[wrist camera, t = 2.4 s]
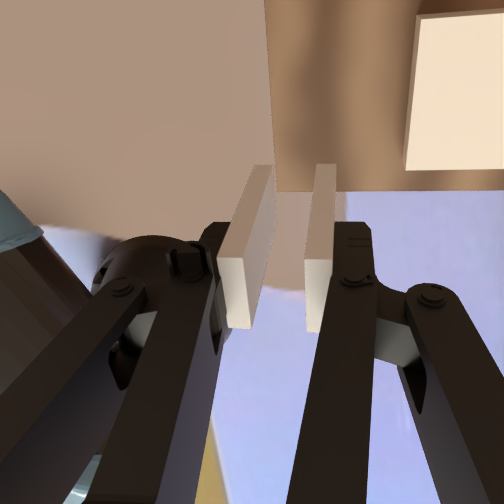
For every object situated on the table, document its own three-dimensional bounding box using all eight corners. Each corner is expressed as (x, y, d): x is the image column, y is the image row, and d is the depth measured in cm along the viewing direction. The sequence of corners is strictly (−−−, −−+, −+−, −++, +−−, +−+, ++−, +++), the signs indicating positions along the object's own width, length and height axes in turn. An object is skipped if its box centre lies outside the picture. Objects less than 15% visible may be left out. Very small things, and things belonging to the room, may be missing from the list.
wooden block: (282, 170, 38) (277, 192, 35) (271, -24, 30) (262, -20, 27) (545, 166, 34) (566, 189, 31) (609, -58, 26) (647, -58, 23)
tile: (402, 158, 31) (405, 170, 30) (416, 14, 26) (421, 19, 25) (495, 156, 30) (503, 169, 29) (528, 6, 25) (540, 10, 24)
